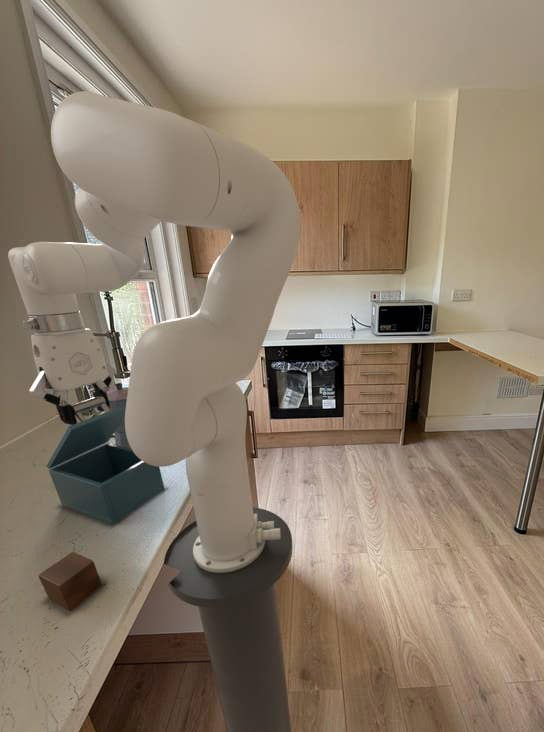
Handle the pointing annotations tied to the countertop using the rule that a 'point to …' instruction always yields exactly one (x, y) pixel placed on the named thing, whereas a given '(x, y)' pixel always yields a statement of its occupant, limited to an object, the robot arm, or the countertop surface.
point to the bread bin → (106, 482)
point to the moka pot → (117, 400)
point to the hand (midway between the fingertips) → (88, 416)
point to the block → (70, 580)
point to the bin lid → (87, 430)
